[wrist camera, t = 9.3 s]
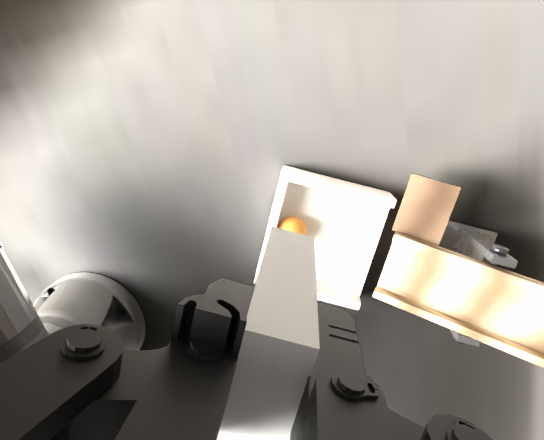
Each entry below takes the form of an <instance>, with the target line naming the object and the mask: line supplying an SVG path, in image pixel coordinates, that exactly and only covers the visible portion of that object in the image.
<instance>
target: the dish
mask: <svg viewBox="0 0 544 440" xmlns="http://www.w3.org/2000/svg"><path fill="white" fill-rule="evenodd" d="M396 202H397V199H396V198H395V197H394V196H393V195H392V194H391V193H390V192H388V191H384V190H380V189H376V188H372V187H368V186H364V185H360V184H356V183H352V182H348V181H345V180H341V179H337V178H333V177H329V176H325V175H321V174H317V173H313V172H309V171H305V170H302V169H298V168H294V167H290V166H286V165H283V167H282V170H281V174H280V178H279V182H278V186H277V190H276V194H275V198H274V202H273V206H272V210H271V214H270V218H269V222H268V226H267V230H266V234H265V238H264V242H263V246H262V250H261V254H260V258H259V262H258V266H257V270H256V274H255V277H254V281H253V283H254V284H256V282H257V278H258V275H259V271H260V267H261V264H262V260H263V257H264V253H265V250H266V246H267V243H268V239H269V236H270V232H271V228H272V226H273V227H276V228H278V225H279V223H280V222H281V221H282V220H283V219H284V218H286V217H291V216H293V217H297V218H299V219H301V220H302V221H303V222H304V224H305V225H306V229H307V233H306V235H307V236H311V237H314V246H315V266H316V286H317V300H320V301H324V302H328V303H332V304H335V305H339V306H343V307H347V308H351V309H355V310H358V311H359V308H360V305H361V301H360V294H361V291H362V288H363V285H364V282H365V279H366V277H367V274H368V271H369V268H370V265H371V262H372V259H373V256H374V253H375V250H376V248H377V245H378V242H379V239H380V236H381V233H382V230H383V227H384V224H385V221H386V218H387V216H388V213H389V210H390V208H394V207H395V204H396Z"/></svg>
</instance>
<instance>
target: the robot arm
mask: <svg viewBox="0 0 544 440" xmlns="http://www.w3.org/2000/svg"><path fill="white" fill-rule="evenodd" d="M3 248H4V246H3V244H2V243H1V242H0V440H492V439H491V438H490V437H489V436H488V435H487V434H485V433H484V432H483V431H481V430H480V429H478V428H477V427H476V426H475V425H473V424H471V423H469V422H468V421H465V420H463V419H461V418H458V417H454V416H450V415H446V414H443V415H435V416H433V417H432V418H431V419H430V420H429V421H428V423H427V425H426V427H425V428H424V427H422V426H420V425H418V424H416V423H414V422H412V421H410V420H408V419H406V418H404V417H402V416H400V415H398V414H397V413H395V412H393V411H391V410H390V409H389V408H387V406H386V403H385V399H384V396H383V394H382V392H381V390H380V388H379V386H378V385H377V384H376V383H375V382H374V381H373V380H372V379H371V378H370V377H369V376H367V375H366V374H365V369H364V364H363V360H362V355H361V350H360V346H359V344H358V342H359V341H358V336H357V334H356V327H355V322H354V320H353V318H352V317H351V316H350V315H349V313H348V312H347V311H346V310H345V309H344V308H340V307H336V306H332V305H328V304H325V303H321V302H317V286H316V266H315V246H314V237H311V236H307V235H304V234H300V233H296V232H292V231H288V230H284V229H280V228H276V227H273V226H272V228H271V232H270V236H269V239H268V243H267V246H266V250H265V253H264V257H263V260H262V264H261V267H260V271H259V275H258V278H257V282H256V285H255V287H254V286H250V285H246V284H242V283H238V282H234V281H231V280H227V279H223V278H220V279H218V280H216V281H214V282H213V283H211V284H209V286H208V288H207V290H206V291H205V293H204V294H195V295H192V296H188V297H185V298H183V299H182V300H181V301H180V302H179V303H178V304H177V310H176V315H175V320H174V325H173V330H172V336H171V341H170V343H169V345H168V346H166V347H164V348H160V349H155V350H140V348H141V346H142V344H143V341H144V338H145V320H144V316H143V313H142V310H141V308H140V306H139V304H138V303H137V301H136V300H135V298H134V297H133V296H132V294H131V293H130V292H129V291H128V290H127V289H126V288H124V287H123V286H122V285H120V284H119V283H118V282H116V281H114V280H112V279H110V278H108V277H106V276H103V275H100V274H96V273H88V272H79V273H73V274H69V275H66V276H64V277H62V278H60V279H58V280H57V281H55V282H54V283H52V284H51V285H50V286H48V287H47V288H46V289H45V290H44V291H43V292H42V293H41V294H40V295H39V296H38V298H37V299H36V301H35V303H34V305H33V304H32V302H31V300H30V298H29V296H28V295H27V293H26V291H25V289H24V287H23V285H22V283H21V282H20V280H19V278H18V276H17V274H16V272H15V270H14V269H13V267H12V265H11V263H10V261H9V259H8V258H7V256H6V254H5V252H4V250H3Z"/></svg>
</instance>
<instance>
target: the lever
mask: <svg viewBox="0 0 544 440" xmlns="http://www.w3.org/2000/svg"><path fill="white" fill-rule="evenodd" d="M460 190H461V187H459V186H455V185H452V184H449V183H445V182H442V181H438V180H435V179H431V178H428V177H425V176H421V175H418V174H414V173H412V174H411V176H410V179H409V182H408V185H407V188H406V191H405V194H404V196H403V199H402V202H401V205H400V208H399V211H398V213H397V216H396V219H395V222H394V225H393V228H392V230H394V231H396V232H395V234H394V236H393V239H392V241H393V242H392V245H391V248H390V250H389V253H388V256H387V259H386V262H385V265H384V267H383V270H382V273H381V276H380V279H379V281H378V284H377V287H376V288H375V290H374V293H373V296H372V297H374V298H376V299H378V300H381V301H383V302H386V303H388V304H391V305H393V306H395V307H398V308H400V309H403V310H405V311H408V312H410V313H412V314H415V315H417V316H420V317H422V318H424V319H427V320H429V321H432V322H434V323H437V324H439V325H441V326H444V327H446V328H449V329H451V330H453V331H456V332H458V333H461V334H463V335H466V336H468V337H470V338H473V339H475V340H478V341H480V342H483V343H485V344H487V345H490V346H492V347H495V348H497V349H499V350H502V351H504V352H507V353H509V354H512V355H514V356H516V357H519V358H521V359H524V360H526V361H528V362H531V363H533V364H536V365H538V366H541V367H543V368H544V283H543V282H541V281H538V280H535V279H532V278H529V277H526V276H523V275H520V274H518V273H515V272H512V271H509V270H506V269H503V268H500V267H497V266H494V265H492V264H489V263H486V262H483V261H480V260H477V259H474V258H471V257H469V256H466V255H463V254H460V253H457V252H454V251H451V250H448V249H446V248H443V247H440V246H439V243H440V241H441V238H442V236H443V233H444V231H445V228H446V226H447V223H448V220H449V218H450V215H451V213H452V210H453V208H454V205H455V203H456V200H457V198H458V195H459V192H460Z"/></svg>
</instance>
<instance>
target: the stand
mask: <svg viewBox="0 0 544 440" xmlns="http://www.w3.org/2000/svg"><path fill="white" fill-rule="evenodd" d="M497 235H498V233H496V232H493V231H489V230H485V229H482V228H478V227H474V226H470V225H466V224H462V223H458V222H454V221H450V220H448V223H447V226H446V228H445V231H444V233H443V236H442V238H441V241H440V243H439V246H440V247H443V248H446V249H448V250H451V251H454V252H457V253H460V254H463V255H466V256H469V257H471V258H474V259H477V260H480V261H483V262H486V263H489V264H492V265H494V266H497V264H498V265H502V266H506V267H510V268H514V269H515V267H516V265H517V263H518V261H517V260H516V259H514V258H513V257H512V256H510V255H509V254H508V252H509V249H508V248H506V247H504V246H501V245H498V244H494V242H495V240H496V237H497ZM449 330H450V332H451V333H452V338H453V339H454V340H455V341H457V342H459V343H461V344H469V345H473V346H477V347H479V345H480V343H481V342H480V341H478V340H475V339H473V338H470V337H468V336H466V335H463V334H461V333H458V332H456V331H453V330H451V329H449Z"/></svg>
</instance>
